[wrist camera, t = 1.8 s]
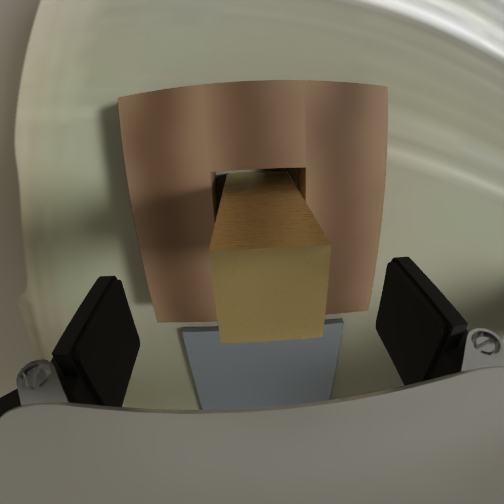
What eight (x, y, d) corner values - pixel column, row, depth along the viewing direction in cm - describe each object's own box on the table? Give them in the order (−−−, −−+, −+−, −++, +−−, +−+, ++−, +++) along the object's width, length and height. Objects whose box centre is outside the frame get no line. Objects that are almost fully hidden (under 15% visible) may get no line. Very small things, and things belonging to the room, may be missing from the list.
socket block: (369, 88, 18) (387, 86, 16) (356, 289, 25) (368, 310, 23) (134, 98, 18) (117, 98, 16) (165, 300, 25) (157, 322, 23)
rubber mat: (342, 318, 27) (343, 322, 26) (325, 409, 33) (326, 413, 32) (182, 327, 27) (181, 331, 26) (205, 416, 33) (205, 420, 32)
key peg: (286, 170, 21) (330, 244, 10) (286, 225, 23) (322, 337, 12) (227, 173, 21) (208, 251, 10) (231, 227, 23) (220, 343, 12)
